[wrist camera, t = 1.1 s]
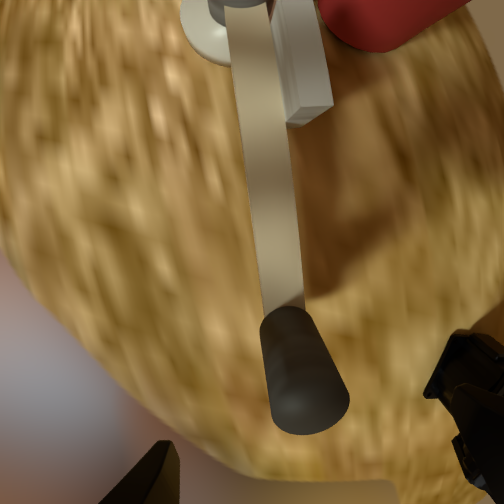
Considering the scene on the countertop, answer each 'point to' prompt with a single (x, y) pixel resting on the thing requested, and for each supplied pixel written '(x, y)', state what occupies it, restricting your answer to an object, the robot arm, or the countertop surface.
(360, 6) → the beer can
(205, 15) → the lever base
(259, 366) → the countertop surface
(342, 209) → the countertop surface
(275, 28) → the lever
